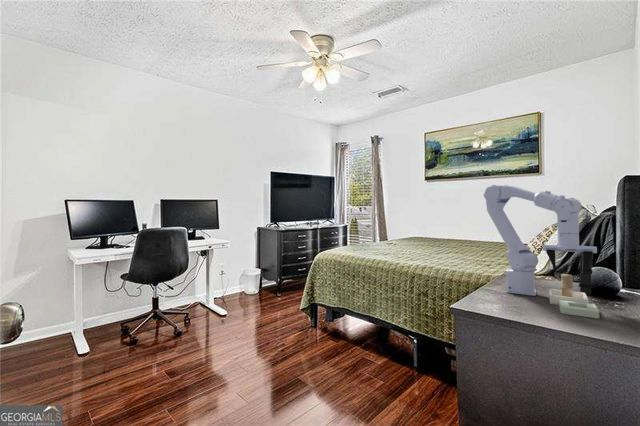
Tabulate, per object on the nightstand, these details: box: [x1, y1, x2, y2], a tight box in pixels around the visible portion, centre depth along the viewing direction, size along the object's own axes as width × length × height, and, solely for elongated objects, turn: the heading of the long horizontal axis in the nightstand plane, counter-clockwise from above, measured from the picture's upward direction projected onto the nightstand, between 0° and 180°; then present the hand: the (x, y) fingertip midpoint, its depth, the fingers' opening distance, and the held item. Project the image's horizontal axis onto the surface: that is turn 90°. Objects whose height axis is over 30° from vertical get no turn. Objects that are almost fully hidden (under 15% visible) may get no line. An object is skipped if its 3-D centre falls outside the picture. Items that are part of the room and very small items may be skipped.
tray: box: [548, 288, 589, 306], centre depth 107 cm, size 10×10×3 cm
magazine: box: [578, 252, 594, 295], centre depth 121 cm, size 4×13×15 cm, turn 137°
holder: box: [558, 300, 600, 320], centre depth 97 cm, size 9×9×2 cm
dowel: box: [560, 273, 574, 297], centre depth 106 cm, size 3×3×9 cm
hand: (568, 272), depth 106 cm, fingers open, 7 cm apart
